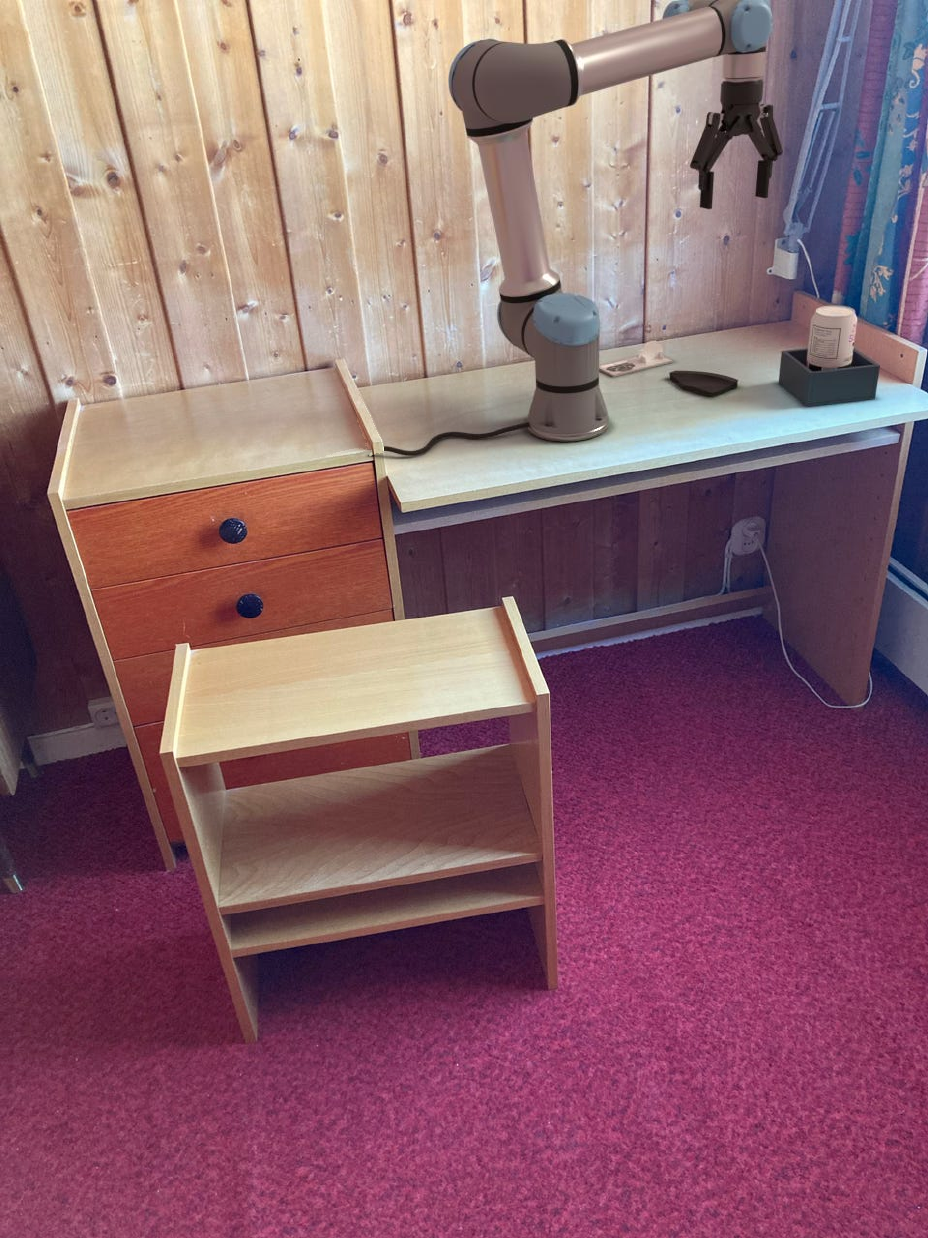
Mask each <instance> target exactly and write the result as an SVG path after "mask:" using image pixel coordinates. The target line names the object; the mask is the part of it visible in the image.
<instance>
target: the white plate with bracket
mask: <svg viewBox="0 0 928 1238" xmlns="http://www.w3.org/2000/svg"><path fill="white" fill-rule="evenodd" d="M663 349H664V347H663V344H661V343H658V341H657V340H650V341H646V342H645V343H644V346H643V347H641V348H640V349H639V351H638V354H637V356H634V357H630V358H629V357H628V358H625V359H622V360H617V361H614V362H609V363H605V364H599V372H602V373H604V374H607V375H608V376H610V377H612V378H615V377H619V376H625V375H627V374H631V373H636V372H639V371H644V370H648V369H652V368H656V367H659V366H663V365H668V364H673V360H672V359H670V358H668V357H666V356H665V354H664V350H663Z"/></svg>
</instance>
